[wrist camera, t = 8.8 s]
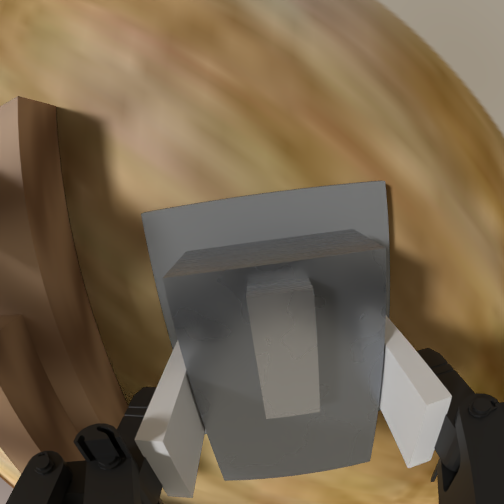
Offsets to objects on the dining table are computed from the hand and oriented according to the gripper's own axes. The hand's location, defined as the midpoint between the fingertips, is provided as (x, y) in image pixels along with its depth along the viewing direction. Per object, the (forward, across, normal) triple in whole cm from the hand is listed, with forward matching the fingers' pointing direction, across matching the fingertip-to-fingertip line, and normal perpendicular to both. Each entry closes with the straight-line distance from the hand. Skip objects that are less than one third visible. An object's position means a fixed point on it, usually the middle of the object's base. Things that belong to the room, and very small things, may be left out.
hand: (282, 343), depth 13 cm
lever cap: (-1, 0, 0) cm, 1 cm away
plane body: (+1, -13, +2) cm, 13 cm away
